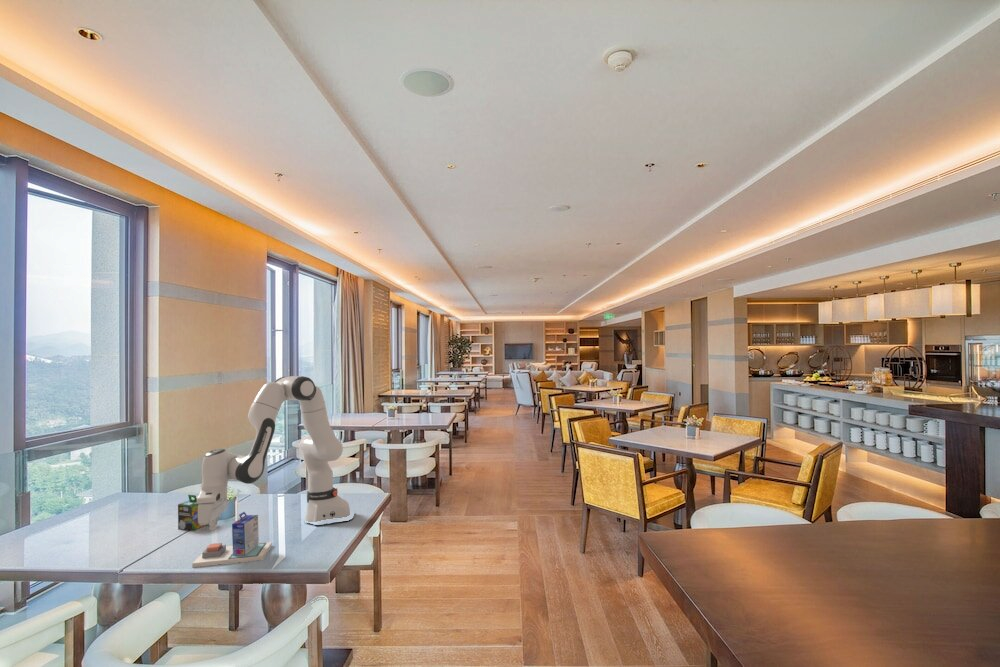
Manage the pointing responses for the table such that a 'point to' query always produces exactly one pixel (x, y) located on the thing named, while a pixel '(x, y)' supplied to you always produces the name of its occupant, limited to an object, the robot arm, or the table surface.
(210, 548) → the button
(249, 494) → the table surface
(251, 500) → the table surface
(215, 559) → the picture board
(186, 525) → the chalk box
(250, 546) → the ink cartridge box
